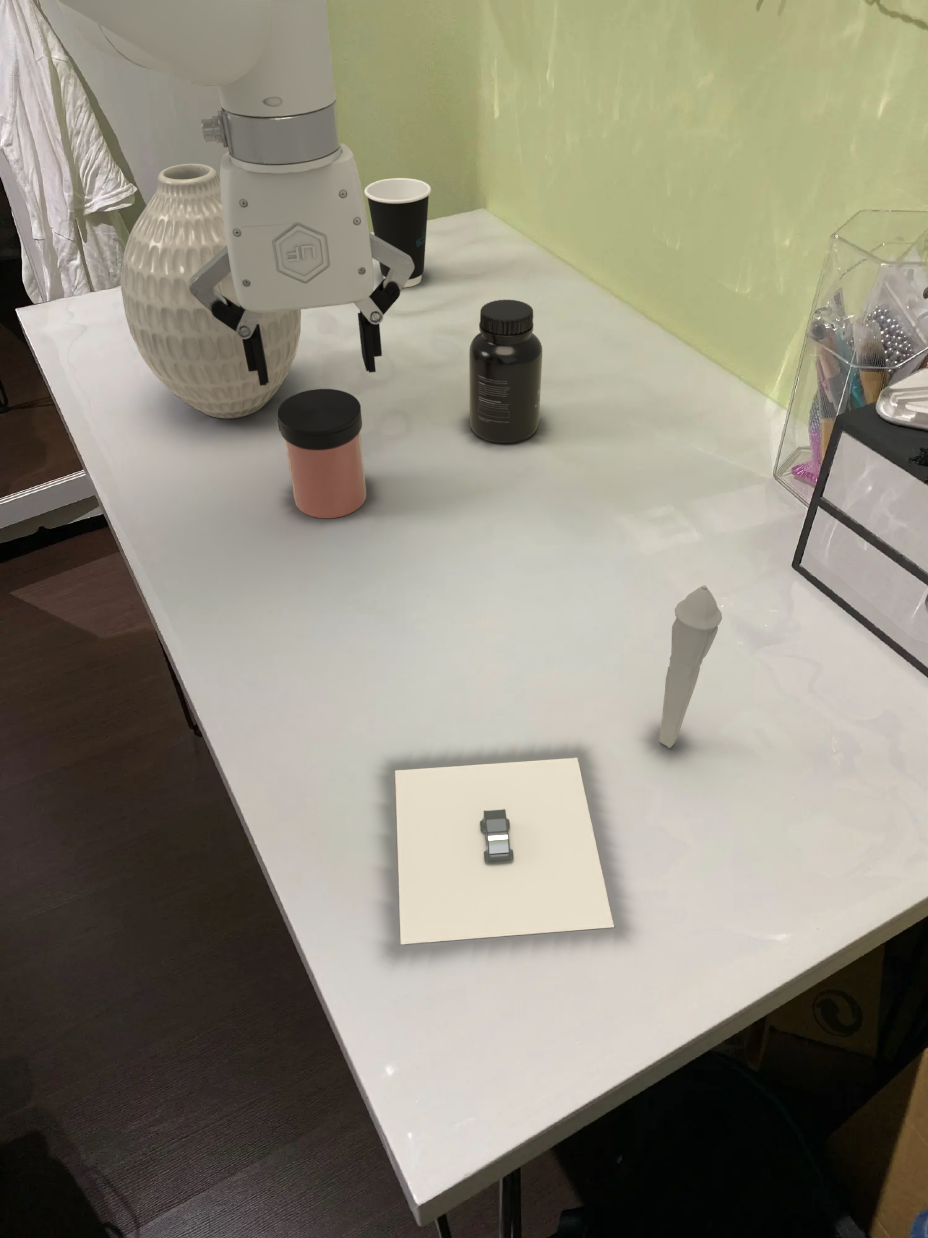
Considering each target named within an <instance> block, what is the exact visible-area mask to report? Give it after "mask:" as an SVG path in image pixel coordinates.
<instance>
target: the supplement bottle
mask: <svg viewBox="0 0 928 1238" xmlns="http://www.w3.org/2000/svg"><path fill="white" fill-rule="evenodd" d="M478 329H479V333H478V334H476V335H475V337H474V338H473V339H472V341H471V342H470V345H469V351H468V353H469V355H468V356H469V357H468V358H469V367H468V368H469V369H468V370H469V425H470V428H471V429H472V432H474V433H475V434H476V436H477V437H479V438H481V439H483V440H486V441H488V442H492V443H497V444H512V443H518V442H521V441H524V440H526V439H528V438H530V437H532V435H533V434H535V432H537V429H538V427H539V422H540V411H541V410H540V409H541V390H542V389H541V387H542V371H543V369H542V367H543V345H542V342H541V341H540V339H539V338H538V337H537V335H535V334H534V333H533V332H534V309H533V306H531V305H530V304H528V303H526V302H524V301H520V300H517V299H498V300H493V301H489V302H487V303H485V304H483V306H481V309H480V313H479V324H478Z"/></svg>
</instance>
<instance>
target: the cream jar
mask: <svg viewBox="0 0 928 1238" xmlns="http://www.w3.org/2000/svg"><path fill="white" fill-rule="evenodd" d="M284 444H285V451H286V456H287V463H288V469H289V475H290V481H291V486H292V492H293V499H294V503H295V506H296V507H297V509H298V511H300V512H302V513H303V514H304V515H307V516H309V517H313V518H317V519H336V518H341V517H344V516H348V515H350V514H352V513H354V512H356V511H357V510H359V509H360V508H361V507H362V506H363V504H364V503H365V501H366V499H367V495H368V494H367V486H366V485H367V484H366V475H365V463H364V455H363V445H362V435H361V431H360V432H359V434H358V435H357V436H356V437H355V438H353V439H352V440H350V441H349V442H347V443H344V444H342V445H339V446H336V447H331V448H325V449H308V448H301V447H298V446H295V445H293V444H291V443H289V442H287V441H286V440H285V439H284Z"/></svg>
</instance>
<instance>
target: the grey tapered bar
mask: <svg viewBox="0 0 928 1238" xmlns="http://www.w3.org/2000/svg"><path fill="white" fill-rule="evenodd" d="M674 616H675V617H676V618H675V619H674V621H673V623H672V626H671V650H670V651H671V654H670V657H669V664H668V666H667V671H666V676H665V683H664V684H665V685H664V694H663V695H664V696H663V704H662V714H661V720H660V721H661V722H660V723H661V724H660V729H659V743H660V744H661V745H664V746H666V747H667V748H668V749H671V748H672V747H673V746H674V745H675V743H676V741H677V739H678V736H679V734H680V731H681V728H682V725H683V722H684V719H685V716H686V713H687V711H688V708H689V704H690V702H691V699H692V696H693V693H694V690H695V688H696V685H697V682H698V678H699V675H700V671H701V665H702V664H703V660H704V659H705V658H706V656H707V655H708V653H709V651H710V649H711V647H712V645H713V643H714V640H715V638H716V636H717V634H718V630H719V625H720V624H721V622H722V620H723V613H722V611H721V610H720V609H719V607H718V605H717V601H716V599H715V597H714V595H713V594H712V592H711V591H710V589H709V588H708V587H707V585H702V586H699V587H698V588H696V589H695V590H693V591H692V592H690V593H688V595H687V596H686V597H685V598H684V599H683V600H681V601H680V602H678V603H677V605H676V606H675V608H674Z"/></svg>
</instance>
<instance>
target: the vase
mask: <svg viewBox="0 0 928 1238" xmlns="http://www.w3.org/2000/svg"><path fill="white" fill-rule="evenodd" d="M226 245H227V243H226V236H225V229H224V222H223V214H222V203H221V192H220V177H219V175H218V172H217V170H216V168H213V167H212V166H211V165H209V164H202V163H183V164H182V163H181V164H176V165H172V166H169V167H167V168H164V169H162V170H161V171H160V172H159V173H158V175H157V187H156V191H155V192H154V194H153V195H152V197H151V198H150V200H149V202H148V203H147V204H146V206H145V207H144V209H143V210H142V212H141V214H140V215H139V217H138V218H137V220H136V221H135V223H134V225H133V227H132V229H131V231H130V233H129V235H128V238H127V241H126V245H125V249H124V252H123V256H122V264H121V272H120V273H121V274H120V290H121V297H122V304H123V311H124V316H125V319H126V322H127V326H128V329H129V333H130V335H131V337H132V339H133V341H134V343H135V346H136V348H137V350H138V352H139V354H140V356H141V358H142V359H143V360H144V362H145V363H146V365H147V366H148V368H149V370H150V371H151V372H152V374H153V375H154V376H155V377H156V378H157V379H158V380H159V381H160V382H161V383H162V384H163V385H164V387H166V388H167V389H168V390H169V391H170V392H171V393H172V394H173V395H175V396H176V397H178V398H179V399H180V400H181V401H183V402H184V403H185V404H187V405H189V406H190V407H192V408H193V409H196V410H197V411H199V412H201V413H203V414H205V415H207V416H209V417H212V418H217V419H238V418H243V417H248V416H250V415H252V414H254V413H256V412H258V411H260V410H261V409H262V408H263V407H264V406H265V405H267V403H268V402H269V401H270V400H271V399H272V397H273V396H274V395H275V394H276V393H277V392H278V391H279V389H280V388H281V385H282V384H283V382H284V381H285V380H286V377H287V376H288V374H289V372H290V370H291V367H292V365H293V362H294V361H295V358H296V355H297V351H298V347H299V346H298V345H299V341H300V336H301V331H302V329H301V326H302V325H301V324H302V309H300V310H291V311H281V312H270V313H262V314H261V317H260V319H259V321H258V323H257V324H259V326H260V331H261V337H262V342H263V348H264V353H265V359H266V364H267V371H268V380H269V383H266V384H267V385H262V386H260V383H259V377H258V372H257V371H251V372H249V371H248V366H247V361H246V356H245V351H244V346H243V341H242V338H240V337H239V336H238V335H237V333H236V332H235V331H234V330H233V329H231V328H230V327H228V326H227V325H225V324H224V323H222V322H221V321H219V320H218V319H217V318H215V317H214V316H213V314H212V312H211V311H210V310H209V309H208V308H206V307H205V306H204V305H203V304H202V303H201V302H200V301H199V300H198V299H196V298H195V297H194V296H193V295H192V294H191V292H190V290H189V280H190V278H191V277H192V276H193V275H194V274H195V273H197V272H198V271H199V270H200V269H201V268H202V267H203V266H204V265H205V264H206V263H208V262H209V261H210V260H211V259H212V258H213V257H214V256H215V255H216V254H217V253H219V252H220V251H221V250H222V249H223V248H224V247H225V246H226ZM215 289H216V290H217V291H218V292H219V293H220V294H221V295H223V296H224V297H226V298H227V299H229V300H230V301H231V302H233V303H234V304H236V305H237V306H239V304H240V303H239V301H238V299H237V296H236V292H235V288H234V284H233V279H232V274H231V272H230V273H229V274H228V275H227V276H226V277H225V278H223V279H222V280H221V281H220V282H219V283H218V284H217V285H216V286H215Z"/></svg>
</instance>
